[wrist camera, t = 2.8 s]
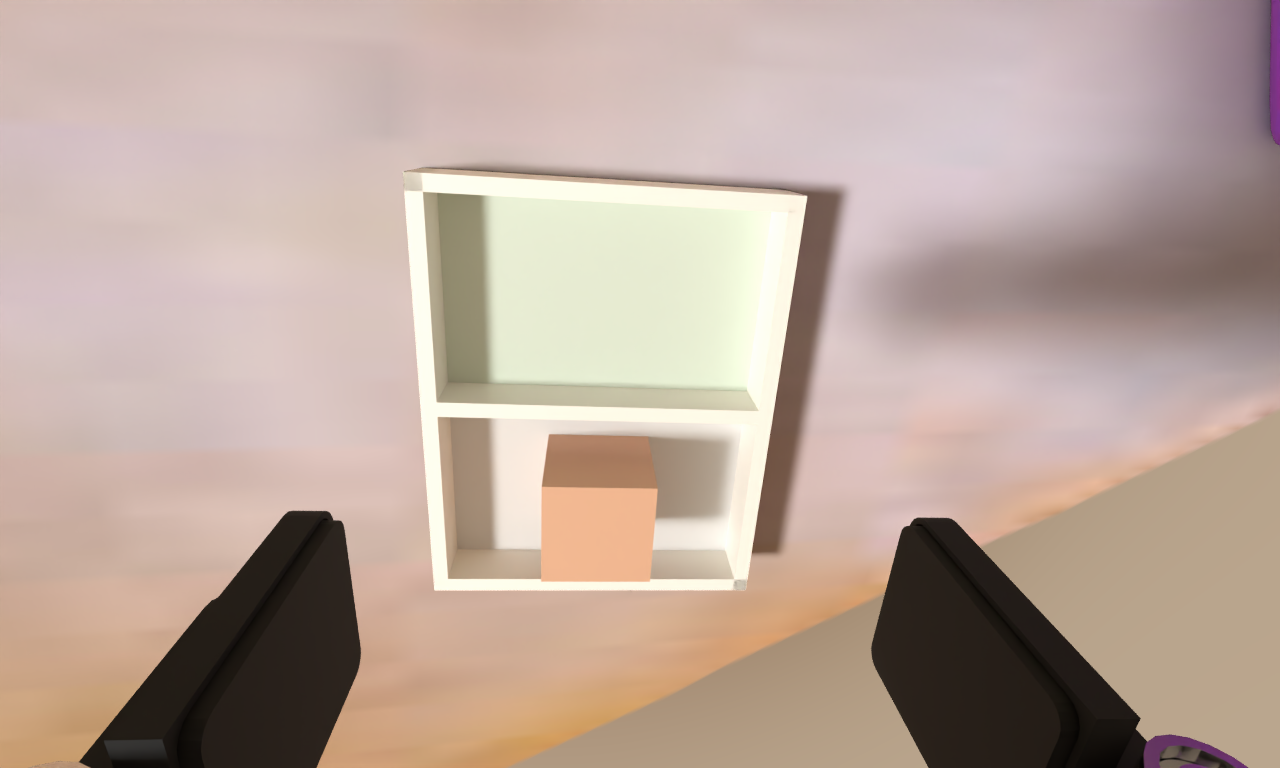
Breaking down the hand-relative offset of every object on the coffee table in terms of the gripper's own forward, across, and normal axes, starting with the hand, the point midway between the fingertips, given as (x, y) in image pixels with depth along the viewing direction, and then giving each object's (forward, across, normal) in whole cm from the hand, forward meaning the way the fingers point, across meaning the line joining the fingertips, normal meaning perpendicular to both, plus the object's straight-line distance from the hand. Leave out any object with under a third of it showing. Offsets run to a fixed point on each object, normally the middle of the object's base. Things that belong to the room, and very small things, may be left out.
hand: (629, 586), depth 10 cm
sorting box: (+20, 0, +5) cm, 21 cm away
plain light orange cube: (+20, 0, +10) cm, 22 cm away
